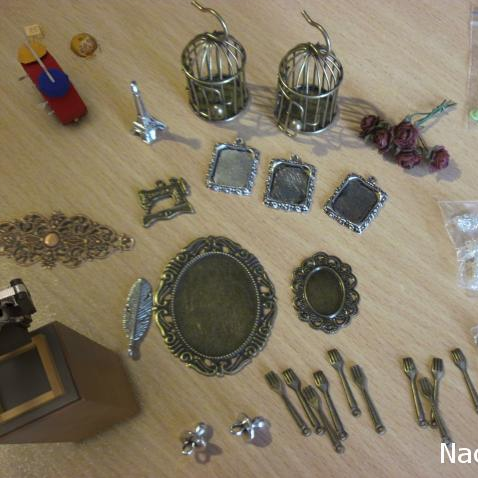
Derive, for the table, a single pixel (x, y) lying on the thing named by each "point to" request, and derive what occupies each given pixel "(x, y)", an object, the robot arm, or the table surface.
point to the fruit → (85, 47)
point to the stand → (61, 388)
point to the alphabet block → (33, 33)
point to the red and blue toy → (51, 82)
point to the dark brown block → (13, 338)
